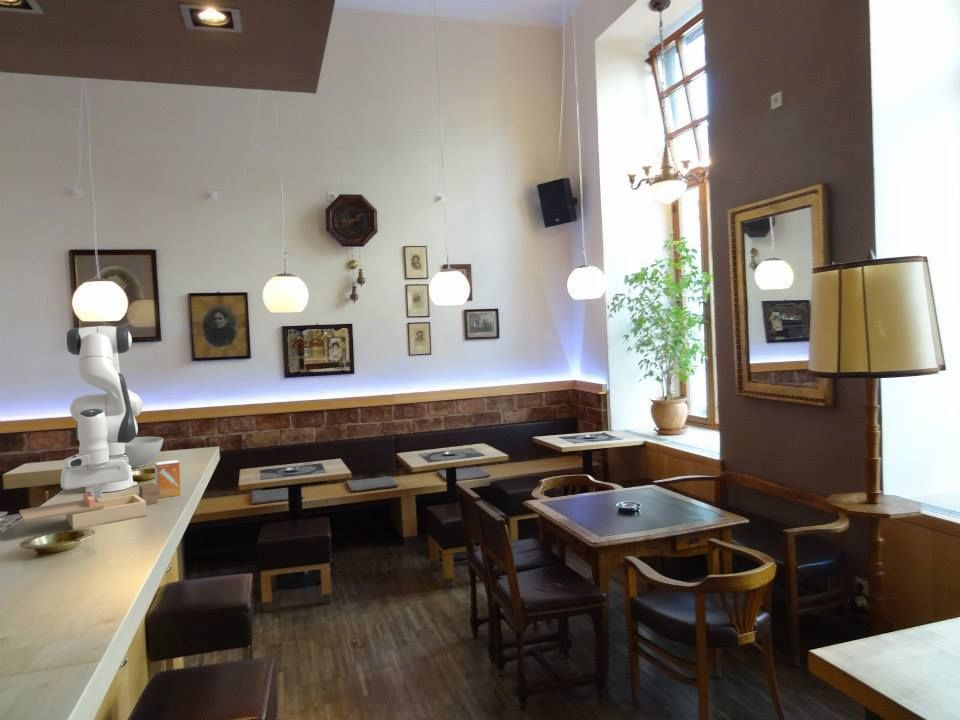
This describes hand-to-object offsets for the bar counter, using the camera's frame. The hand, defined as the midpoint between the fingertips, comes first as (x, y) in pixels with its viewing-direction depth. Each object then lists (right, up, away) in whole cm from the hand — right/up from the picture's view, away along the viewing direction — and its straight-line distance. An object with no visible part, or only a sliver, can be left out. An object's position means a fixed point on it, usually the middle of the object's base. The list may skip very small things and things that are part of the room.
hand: (96, 497), depth 230 cm
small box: (+10, -6, +32) cm, 34 cm away
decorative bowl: (-35, -4, +93) cm, 99 cm away
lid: (-8, -3, -7) cm, 11 cm away
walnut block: (+8, -6, +20) cm, 23 cm away
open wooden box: (+2, -7, +2) cm, 8 cm away
